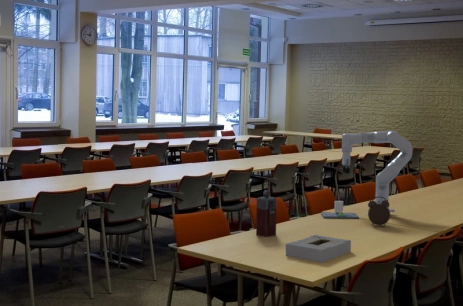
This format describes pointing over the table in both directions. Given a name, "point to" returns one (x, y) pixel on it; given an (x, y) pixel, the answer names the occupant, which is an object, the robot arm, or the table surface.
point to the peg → (338, 207)
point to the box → (318, 248)
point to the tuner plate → (340, 215)
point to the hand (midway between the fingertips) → (346, 172)
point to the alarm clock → (378, 212)
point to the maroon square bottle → (266, 215)
